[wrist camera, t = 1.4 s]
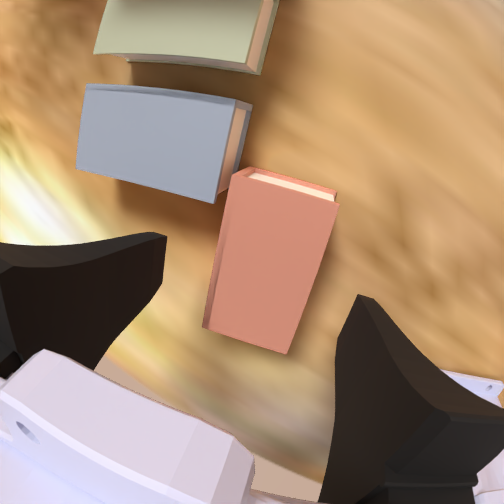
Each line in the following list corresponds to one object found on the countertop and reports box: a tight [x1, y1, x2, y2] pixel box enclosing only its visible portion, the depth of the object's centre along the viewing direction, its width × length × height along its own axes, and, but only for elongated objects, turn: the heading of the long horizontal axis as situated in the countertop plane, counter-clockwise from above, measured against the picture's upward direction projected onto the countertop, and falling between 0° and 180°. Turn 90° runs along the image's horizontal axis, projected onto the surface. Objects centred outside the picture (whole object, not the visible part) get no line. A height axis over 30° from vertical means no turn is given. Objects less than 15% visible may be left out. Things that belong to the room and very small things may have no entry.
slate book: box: [76, 83, 253, 204], centre depth 13 cm, size 7×4×3 cm, turn 77°
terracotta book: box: [202, 166, 340, 354], centre depth 14 cm, size 7×4×3 cm, turn 167°
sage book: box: [93, 0, 280, 76], centre depth 11 cm, size 7×4×3 cm, turn 77°
